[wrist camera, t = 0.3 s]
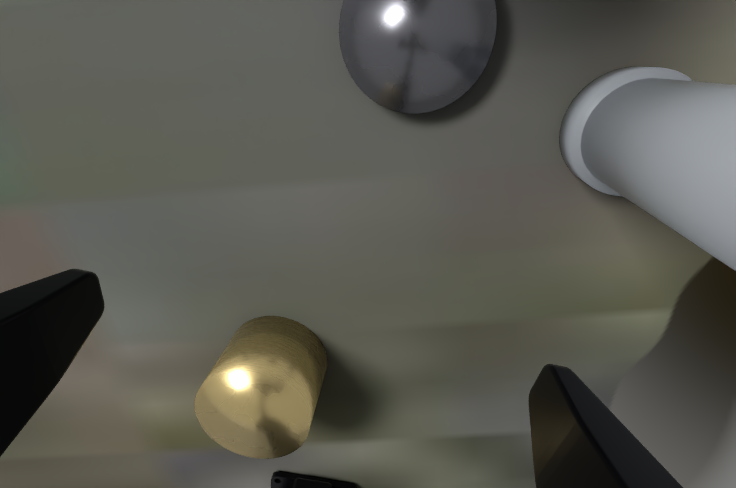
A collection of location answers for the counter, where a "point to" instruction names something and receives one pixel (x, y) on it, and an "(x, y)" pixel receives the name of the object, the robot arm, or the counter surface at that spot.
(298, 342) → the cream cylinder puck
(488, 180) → the counter surface
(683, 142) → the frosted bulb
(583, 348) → the counter surface
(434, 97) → the dark grey metal disc
